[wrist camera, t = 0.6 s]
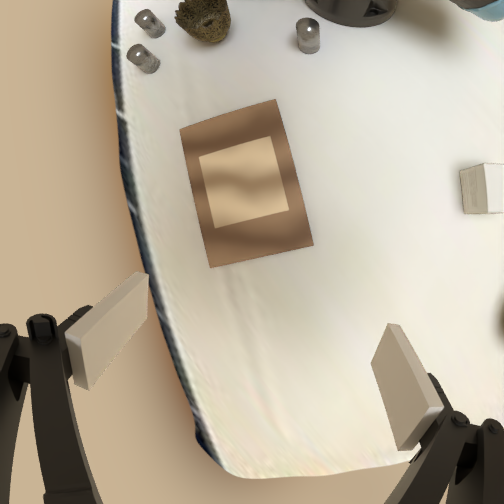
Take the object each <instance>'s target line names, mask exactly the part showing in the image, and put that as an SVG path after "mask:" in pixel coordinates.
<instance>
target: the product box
mask: <svg viewBox="0 0 504 504" xmlns="http://www.w3.org/2000/svg"><path fill="white" fill-rule="evenodd" d="M460 179H461V188H462V197H463V209H464V214H496V213H504V164H496V163H483V164H480V165H477V166H474V167H471V168H468V169H464V170H461V171H460Z"/></svg>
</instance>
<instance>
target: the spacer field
mask: <svg viewBox="0 0 504 504" xmlns="http://www.w3.org/2000/svg"><path fill="white" fill-rule="evenodd" d="M135 22H136V23H137V24H138V25H139V26H140V27H141V28H142V29H143V30H144V31H145V32H146V33H147V34H148V35H149V36H150V37H152V38H158V37H160V36H161V35H162V34H163V33H164V32H165V26H164V25H163V24H162V23H161V22H160V20H159V19H158V18H157V17H156V16H155V15H154V14H153V13H152V12H151V11H150V10H149V9H145V10H142V11H140V12H139V13H138V14H137V15H136V17H135ZM296 30H297V36H298V43H299V48H300V50H301V51H302V52H303V53H306V54H314V53H316V52H317V51H318V50H319V48H320V35H319V23H318V22H317V21H316V20H314V19H312V18H302V19H300V20H299V21H298V22H297V23H296ZM127 59H128V60H130V61H131V62H132V63H134V64H135V65H136V66H137V67H139V68H140V69H141V70H143V71H144V72H145V73H147V74H151V73H154V72H155V71H156V70H157V69H158V68H159V66H160V61H159V60H158V59H157V58H156V57H155V56H154V55H153V54H152V53H151V52H150V51H148V50H147V49H146V48H145V47H144V46H143V45H141V44H136V45H134V46H132V47H131V48H130V49H129V50H128V52H127Z"/></svg>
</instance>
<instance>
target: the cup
mask: <svg viewBox="0 0 504 504" xmlns="http://www.w3.org/2000/svg"><path fill="white" fill-rule="evenodd" d="M175 12H176V15H177V17H175V19H176V23H177V24H178V25H179V26H180V27H182V28H183V29H184V30H185V31H186V32H187V33H188V34H190V35H191V36H192V37H194V38H195V39H197V40H200V41H209V42H212V43H215V42H219V41H221V40H222V39H224V38H225V36H226V33H227V31H228V29H229V27H230V24H231V18H230V13H229V9H228V5H227V1H226V0H185V2H180V3H179V11H178V10H175Z"/></svg>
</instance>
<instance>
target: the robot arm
mask: <svg viewBox="0 0 504 504" xmlns="http://www.w3.org/2000/svg"><path fill="white" fill-rule="evenodd" d="M305 1H306V3H307V4H308V6H309V7H310V8H311V9H312V10H313V11H315V12H316V13H317V14H319V15H320V16H322V17H324V18H326V19H328V20H330V21H332V22H335V23H338V24H342V25H347V26H353V27H369V26H375V25H378V24H381V23H383V22H385V21H387V20H388V19H389V18H390V17H391V16H392V15H393V13H394V11H395V8H396V5H397V0H305ZM450 1H451V2H453V3H455V4H457V5H458V6H459V7H460V8H461V9H463V10H466V11H469V12H471V13H473V14H475V15H476V16H478V17H480V18H482V19H484V20H487V21H491V22H495V21H500V20H503V19H504V0H450ZM148 279H149V274H145V273H141V272H135V273H133V274H132V275H131V276H130V277H129V278H127V279H126V280H125V281H124V282H123V283H122V284H120V285H119V286H118V287H116V288H115V289H114V290H113V291H112V292H111V293H109V294H108V295H107V296H106V297H105V298H104V299H102V300H101V301H100V302H99V303H98V304H96V305H95V306H94V307H93V306H89V305H87V306H84V307H82V308H79V309H78V310H77V311H75V312H74V313H73V315H71V316H70V317H68V319H66V320H65V321H63V322H62V323H61V324H60V325H59V326H57V323H56V320H55V318H54V317H53V316H51V315H49V314H36V315H34V316H31V317H30V318H29V319H28V320H27V322H26V325H27V330H28V335H29V337H23V336H18V333H17V329H16V327H15V326H13V325H11V324H0V504H9V495H10V482H11V472H12V464H13V457H14V450H15V443H16V437H17V432H18V427H19V422H20V417H21V412H22V408H23V403H24V399H25V395H26V391H27V387H28V383H29V384H30V387H31V400H32V413H33V422H34V431H35V437H36V445H37V450H38V456H39V461H40V467H41V472H42V476H43V481H44V485H45V490H46V493H45V494H44V495H43V499H44V504H103V502H102V500H101V497H100V495H99V493H98V490H97V487H96V484H95V481H94V479H93V476H92V473H91V470H90V467H89V464H88V460H87V457H86V454H85V451H84V447H83V444H82V440H81V437H80V433H79V429H78V425H77V421H76V417H75V413H74V408H73V404H72V399H71V394H70V389H69V384H68V379H69V378H70V377H71V375H73V379H74V384H75V385H77V386H80V387H82V388H84V389H86V390H90V389H91V388H92V386H93V385H94V384H95V382H96V381H97V380H98V379H99V377H100V376H101V375H102V373H103V372H104V371H105V369H106V368H107V367H108V366H109V365H110V363H111V362H112V361H113V360H114V358H115V357H116V356H117V355H118V353H119V352H120V351H121V350H122V348H123V347H124V346H125V344H126V343H127V342H128V341H129V339H130V338H131V337H132V336H133V335H134V333H135V332H136V331H137V329H138V328H139V327H140V326H141V325H142V324H143V322H144V321H145V320H146V318H147V302H148ZM371 366H372V369H373V372H374V375H375V378H376V381H377V384H378V387H379V390H380V393H381V396H382V399H383V403H384V406H385V409H386V412H387V415H388V419H389V422H390V425H391V429H392V432H393V436H394V439H395V443H396V446H397V450H398V451H407V450H413V449H414V447H415V446H416V445H417V444H418V442H420V445H421V449H420V450H419V451H418V453H417V454H416V455H415V456H414V457H413V458H412V460H411V461H410V462H409V463H410V466H409V467H408V469H407V471H406V472H405V474H404V475H403V477H402V478H401V480H400V481H399V483H398V484H397V486H396V487H395V489H394V490H393V492H392V493H391V495H390V496H389V497H388V499H387V500H386V502H385V503H384V504H439V503H440V501H441V499H442V497H443V495H444V492H445V490H446V488H447V486H448V484H449V489H448V494H447V500H446V504H504V429H503V427H502V425H501V424H500V423H499V422H498V421H497V420H494V419H490V418H489V419H486V420H485V421H484V422H483V423H482V425H481V426H477V425H473V424H470V421H469V419H468V418H467V417H466V415H464V414H463V413H461V412H459V411H454V410H453V408H452V406H451V404H450V402H449V401H448V399H447V397H446V395H445V394H444V391H443V389H442V388H441V386H440V384H439V382H438V380H437V379H436V378H435V377H434V376H433V375H432V374H431V373H426V371H425V369H424V367H423V365H422V363H421V362H420V360H419V358H418V356H417V354H416V353H415V351H414V349H413V347H412V345H411V344H410V342H409V340H408V338H407V337H406V335H405V333H404V332H403V330H402V328H401V326H400V325H396V324H390V323H388V324H387V326H386V329H385V331H384V334H383V336H382V338H381V341H380V343H379V345H378V348H377V350H376V352H375V355H374V357H373V359H372V361H371Z"/></svg>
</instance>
